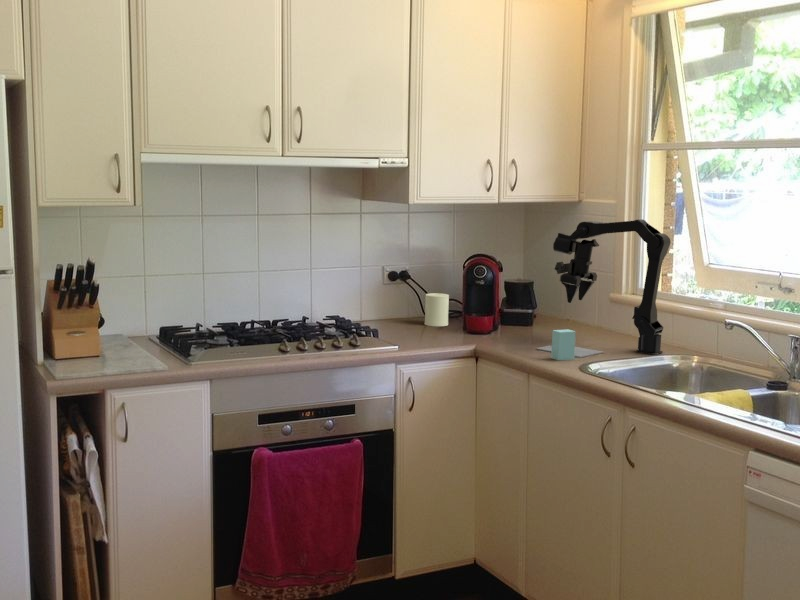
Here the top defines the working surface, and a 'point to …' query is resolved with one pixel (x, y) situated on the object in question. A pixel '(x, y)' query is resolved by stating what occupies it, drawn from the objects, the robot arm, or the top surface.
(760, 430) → the top surface
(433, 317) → the can
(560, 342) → the mint green pillar
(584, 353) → the placemat
